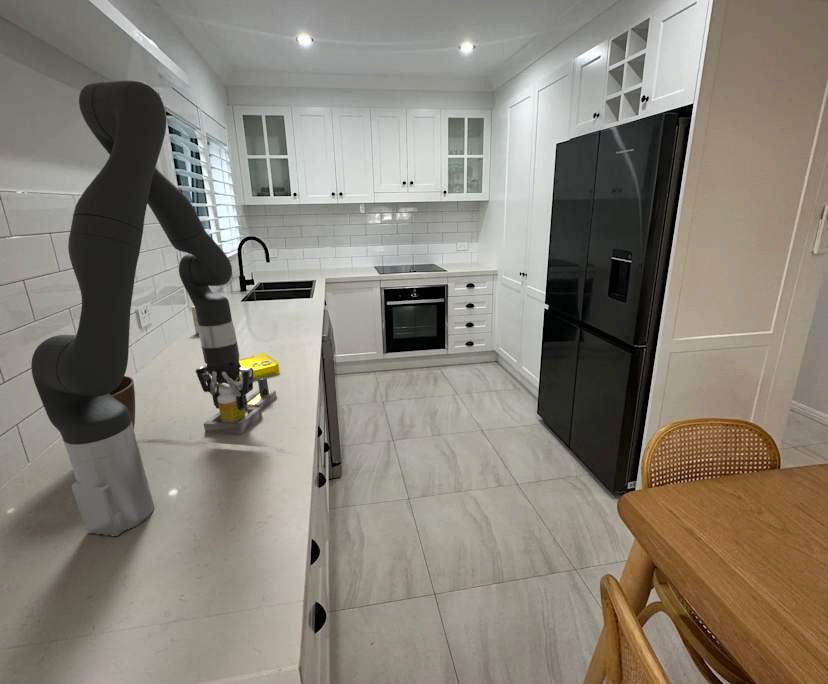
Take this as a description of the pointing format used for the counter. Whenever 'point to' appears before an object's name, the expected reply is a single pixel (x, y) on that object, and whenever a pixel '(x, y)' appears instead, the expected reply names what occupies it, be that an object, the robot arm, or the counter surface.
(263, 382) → the locking bolt
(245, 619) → the counter surface
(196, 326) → the skincare box
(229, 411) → the supplement bottle
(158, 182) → the robot arm
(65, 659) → the counter surface
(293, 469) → the counter surface
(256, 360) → the element tile
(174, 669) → the counter surface
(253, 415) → the docking base
